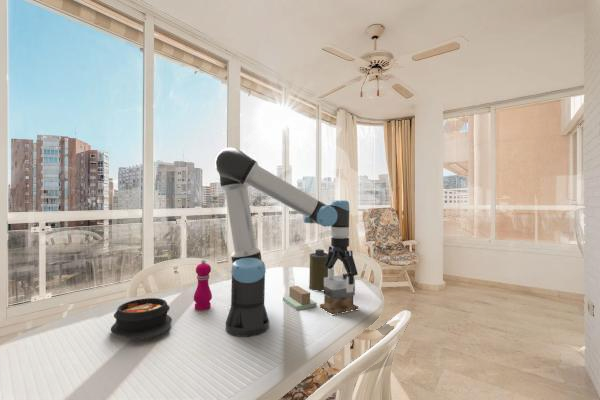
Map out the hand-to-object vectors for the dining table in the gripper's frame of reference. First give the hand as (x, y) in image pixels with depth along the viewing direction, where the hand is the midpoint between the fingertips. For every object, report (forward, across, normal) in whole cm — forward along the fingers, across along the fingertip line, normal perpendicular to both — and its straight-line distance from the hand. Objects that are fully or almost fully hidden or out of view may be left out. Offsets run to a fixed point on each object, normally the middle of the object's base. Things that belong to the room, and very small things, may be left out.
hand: (339, 287), depth 125 cm
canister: (+9, +29, -8) cm, 31 cm away
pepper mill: (+8, +25, +51) cm, 58 cm away
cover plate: (0, 0, 0) cm, 1 cm away
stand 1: (+9, +13, +12) cm, 20 cm away
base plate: (+3, 0, 0) cm, 3 cm away
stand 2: (+9, 0, 0) cm, 9 cm away
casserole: (+8, +13, +73) cm, 75 cm away
